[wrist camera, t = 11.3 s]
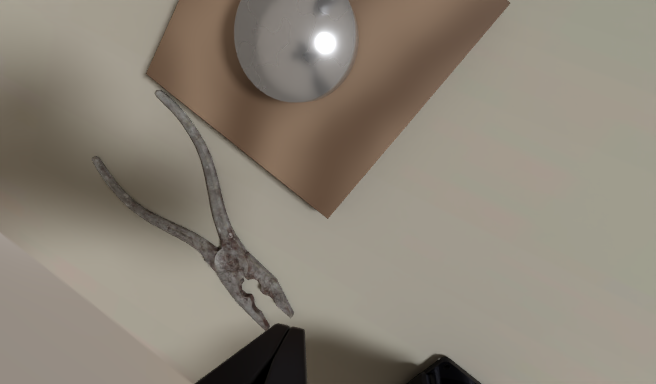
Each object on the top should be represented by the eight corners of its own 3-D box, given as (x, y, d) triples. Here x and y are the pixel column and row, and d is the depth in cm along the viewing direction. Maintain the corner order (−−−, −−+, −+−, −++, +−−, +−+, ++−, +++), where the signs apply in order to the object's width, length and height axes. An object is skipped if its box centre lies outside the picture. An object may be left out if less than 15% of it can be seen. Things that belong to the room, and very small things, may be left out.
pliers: (137, 70, 21) (349, 266, 22) (146, 72, 22) (350, 260, 23) (83, 170, 24) (269, 336, 25) (92, 167, 25) (273, 329, 26)
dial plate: (500, 11, 16) (511, 2, 15) (332, 211, 21) (327, 219, 20) (279, -172, 16) (267, -200, 15) (162, 75, 21) (145, 73, 20)
